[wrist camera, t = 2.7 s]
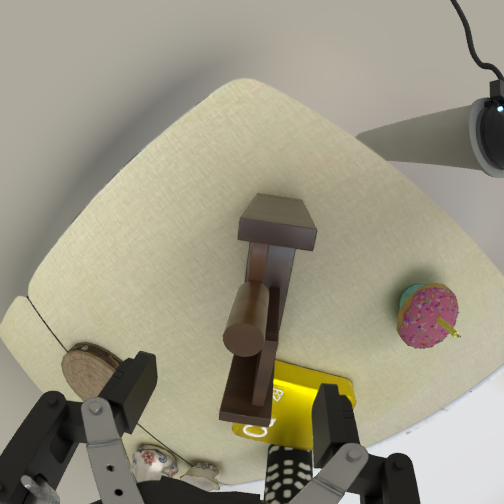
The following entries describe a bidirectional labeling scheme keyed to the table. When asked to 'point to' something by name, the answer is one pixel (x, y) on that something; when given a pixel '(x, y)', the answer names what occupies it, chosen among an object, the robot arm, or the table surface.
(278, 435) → the element tile
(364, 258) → the table surface
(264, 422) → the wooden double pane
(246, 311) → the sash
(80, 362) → the brown flat banded disc
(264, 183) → the table surface
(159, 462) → the chinaware
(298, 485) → the spotted tube
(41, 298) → the table surface
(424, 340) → the cupcake
